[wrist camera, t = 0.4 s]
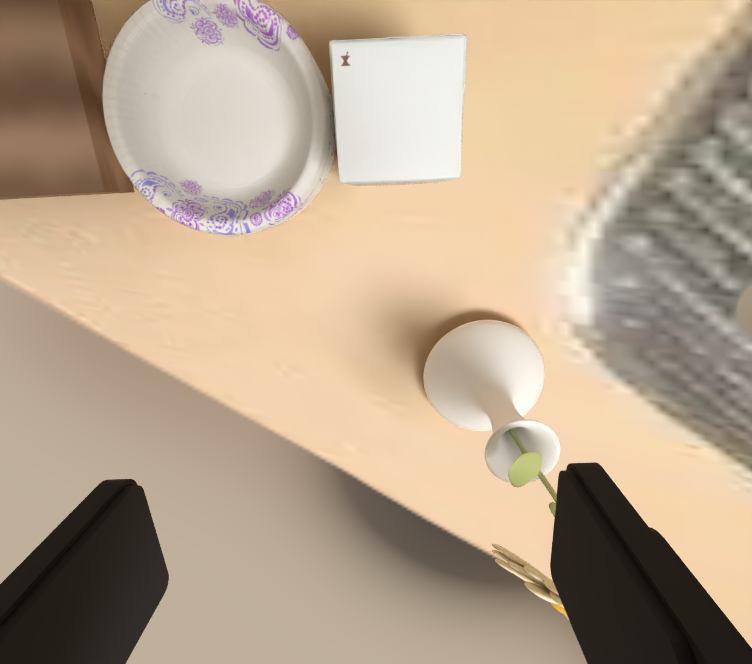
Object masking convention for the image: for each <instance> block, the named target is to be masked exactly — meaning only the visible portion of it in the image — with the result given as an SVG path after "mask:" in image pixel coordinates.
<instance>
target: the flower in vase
mask: <svg viewBox="0 0 752 664" xmlns="http://www.w3.org/2000/svg"><path fill="white" fill-rule="evenodd" d="M423 381H424V389H425V393H426V395H427V398H428V400H429V402H430V404H431V405H432V407H433V408H434V409H435V410H436V411H437V412H438V413H439V414H440V415H441V416H442V417H443V418H445V419H446V420H447V421H449V422H450V423H452V424H454V425H456V426H458V427H461V428H464V429H468V430H474V431H489V430H493V434H492V436H491V437H490V439H489V440H488V442H487V445H486V449H485V460H486V463H487V466H488V468H489V469H490V471H491V472H492V473H493V474H494V475H495V476H497V477H498V478H500V479H501V480H504V481H506V482H510V483H511V484H512V485H513V486H514V487H521V486H523V485H525V484H527V483H528V482H532V481H535V480H538V479H540V480H541V481H542V482H543V484H544V485H545V487H546V488H547V490H548V491H549V493H550V494H551V496H552V497H553V499H554V501H555V502H556V499H557V494H556V493H555V491H554V490H553V488H552V487H551V485H550V484H549V482H548V481H547V479H546V478H545V477H544V476H545V475H546V474H548V473H549V472H550V471H551V470H552V469H553V467H554V466H555V465H556V463H557V461H558V459H559V456H560V442H559V439H558V437H557V435H556V434H555V432H554V431H553V430H552V429H551V428H550V427H548V426H547V425H545V424H543V423H541V422H538V421H535V420H527V419H524V418H523V416H524V415H525V414H526V413H527V412H528V411H529V410H530V409H531V408H532V407H533V405H534V404H535V402H536V401H537V399H538V397H539V395H540V393H541V390H542V387H543V382H544V361H543V358H542V354H541V352H540V350H539V347H538V346H537V344H536V343H535V341H534V340H533V339H532V338H531V337H530V336H529V335H528V334H527V333H526V332H525V331H523V330H522V329H520V328H518V327H517V326H514V325H512V324H510V323H507V322H503V321H498V320H478V321H473V322H469V323H466V324H463V325H461V326H459V327H457V328H455V329H453V330H451V331H450V332H448V333H447V334H446V335H445V336H443V337H442V338H441V339H440V340H439V341H438V342H437V343H436V345H435V346H434V347H433V349H432V350H431V352H430V354H429V356H428V358H427V361H426V364H425V368H424V375H423ZM549 508H550V510H551V512H552V514H553V515H554V517H555V510H556V503H554V502H552V503H550V504H549ZM492 546H493V547H494V548H496V549H497V550H499V551H500V552H499V551H496V550H492V552H493V553H494V554H496V555H497V556H499V557H500V558H502V559H504V560H506V561H507V562H508V564H507V563H505V562H503V561H501V560H499V559H495V561H496V562H497V563H498V564H499V565H500V566H502V567H503V568H505V569H506V570H508V571H510V572H511V573H513V574H515V575H516V576H518V577H520V578H521V579H523V580H525V581H526V582H525V583H524V584H525V586H526V587H527V588H528V589H529V590H530V591H532V592H533V593H534V594H536V595H537V596H539V597H540V598H542V599H545V600H546V601H549V602H550V604H551V605H552V606H553V607H554V608H555V609H557V610H558V611H559V612H561V613H563V614H564V615H565V616H566V617H567V619H568V620H569V618H568V616H567V613H566V611H565V609H564V606H563V604H562V602H561V599H560V597H559V594H558V592H557V590H556V587H555V585H554V582H553V581H552V580H550V579H549V578H548V577H546V576H545V575H544V574H542V573H541V572H540V571H538V570H537V569H536V568H534V567H533V566H531V565H530V564H529V563H527V562H526V561H524V560H523V559H521V558H520V557H518V556H516V555H515V554H513V553H512V552H510V551H508V550H507V549H505V548H503V547H501V546H499V545H496V544H492Z"/></svg>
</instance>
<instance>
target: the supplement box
mask: <svg viewBox="0 0 752 664" xmlns="http://www.w3.org/2000/svg"><path fill="white" fill-rule="evenodd" d="M466 52H467V36H466V35H464V34H446V35H430V36H412V37H387V38H372V39H352V40H331V41H330V42H329V53H330V68H331V82H332V96H333V109H334V121H335V134H336V146H337V158H338V170H339V182H340V183H345V184H348V185H352V186H376V185H406V184H422V183H437V182H444V181H449V180H453V179H459V178H460V177H461V149H462V128H463V110H464V92H465V72H466Z"/></svg>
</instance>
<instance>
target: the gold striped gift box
mask: <svg viewBox="0 0 752 664" xmlns="http://www.w3.org/2000/svg"><path fill="white" fill-rule="evenodd" d="M105 68H106V64H105V60H104V55H103V51H102V46H101V42H100V37H99V33H98V28H97V24H96V19H95V15H94V11H93V6H92V2H91V1H90V0H0V199H18V198H37V197H55V196H73V195H91V194H110V193H128V192H134V189H133V185H132V182H131V181H130V179H129V177H128V176H127V175H126V173H125V172H124V170H123V168H122V166H121V165H120V163H119V161H118V159H117V157H116V155H115V153H114V150H113V147H112V145H111V142H110V139H109V136H108V132H107V128H106V124H105V119H104V111H103V98H102V95H103V78H104V73H105Z"/></svg>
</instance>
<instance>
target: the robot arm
mask: <svg viewBox="0 0 752 664" xmlns="http://www.w3.org/2000/svg"><path fill="white" fill-rule="evenodd" d="M550 567H551V575H552V579H553V582H554V585H555V587H556V590H557V592H558V594H559V597H560V599H561V602H562V604H563V606H564V609H565V611H566V613H567V616H568V618H569V620H570V623H571V624H572V628H573V630H574V632H575V635H576V637H577V639H578V642H579V644H580V646H581V649H582V651H583V654H584V656H585V658H586V661H587V663H588V664H752V648H751V647H750V646H749V644H748V643H747V642H746V641H745V639H744V638H743V637H742V636H741V634H740V633H739V632H738V631H737V629H736V628H735V627H734V626H733V624H732V623H731V622H730V621H729V619H728V618H727V617H726V615H725V614H724V613H723V612H722V610H721V609H720V608H719V607H718V605H717V604H716V603H715V602H714V600H713V599H712V598H711V597H710V595H709V594H708V593H707V592H706V590H705V589H704V588H703V587H702V585H701V584H700V583H699V582H698V580H697V579H696V578H695V576H694V575H693V574H692V573H691V571H690V570H689V569H688V568H687V566H686V565H685V564H684V563H683V561H682V560H681V559H680V558H679V556H678V555H677V554H676V553H675V551H674V550H673V549H672V548H671V546H670V545H669V544H668V543H667V541H666V540H665V539H664V538H663V536H662V535H661V534H660V533H659V532H658V531H656V530H654V529H653V528H649V527H648V526H647V524H646V523H645V522H644V521H643V519H642V518H641V517H640V515H639V514H638V513H637V512H636V510H635V509H634V508H633V506H632V505H631V504H630V503H629V501H628V500H627V499H626V497H625V496H624V495H623V494H622V492H621V491H620V490H619V488H618V487H617V486H616V484H615V483H614V482H613V481H612V479H611V478H610V477H609V475H608V474H607V473H606V472H605V470H604V469H603V468H602V466H601V465H599V464H598V463H571V464H568V466H567V469H566V471H560V473H559V478H558V489H557V499H556V510H555V521H554V531H553V542H552V553H551V563H550ZM168 580H169V575H168V571H167V568H166V564H165V561H164V557H163V554H162V551H161V547H160V544H159V540H158V537H157V533H156V530H155V527H154V523H153V520H152V517H151V513H150V510H149V506H148V503H147V500H146V496H145V493H144V490H143V488H142V487H141V486H138V485H137V483H136V482H135V481H134V480H132V479H116V480H105V481H103V482H101V483H100V484H99V485H98V486H97V487H96V488H95V489H94V490H93V491H92V492H91V493H90V494H89V495H88V496H87V497H86V498H85V499H84V500H83V501H82V502H81V503H80V504H79V505H78V506H77V507H76V508H75V509H74V510H73V511H72V513H70V514H69V515H68V516H67V517H66V518H65V519H64V520H63V521H62V522H61V524H59V525H58V527H57V528H56V529H55V530H53V532H52V533H51V534H50V535H49V536H48V537H47V538H46V539H45V540H44V541H43V542H42V543H41V544H40V545H39V546H38V547H37V548H36V549H35V550H34V551H33V552H32V553H31V554H30V555H29V556H28V557H27V558H26V559H25V560H24V561H23V562H22V563H21V564H20V565H19V566H18V567H17V568H16V569H15V570H14V571H13V572H12V573H11V574H10V575H9V576H8V577H7V578H6V579H5V580H4V581H3V582H2V583H1V584H0V664H126V662H127V660H128V658H129V656H130V655H131V653H132V651H133V649H134V647H135V646H136V644H137V642H138V640H139V638H140V636H141V635H142V633H143V631H144V629H145V627H146V626H147V624H148V622H149V620H150V618H151V617H152V615H153V613H154V611H155V609H156V608H157V606H158V604H159V602H160V601H161V599H162V597H163V595H164V593H165V591H166V589H167V585H168Z"/></svg>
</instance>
